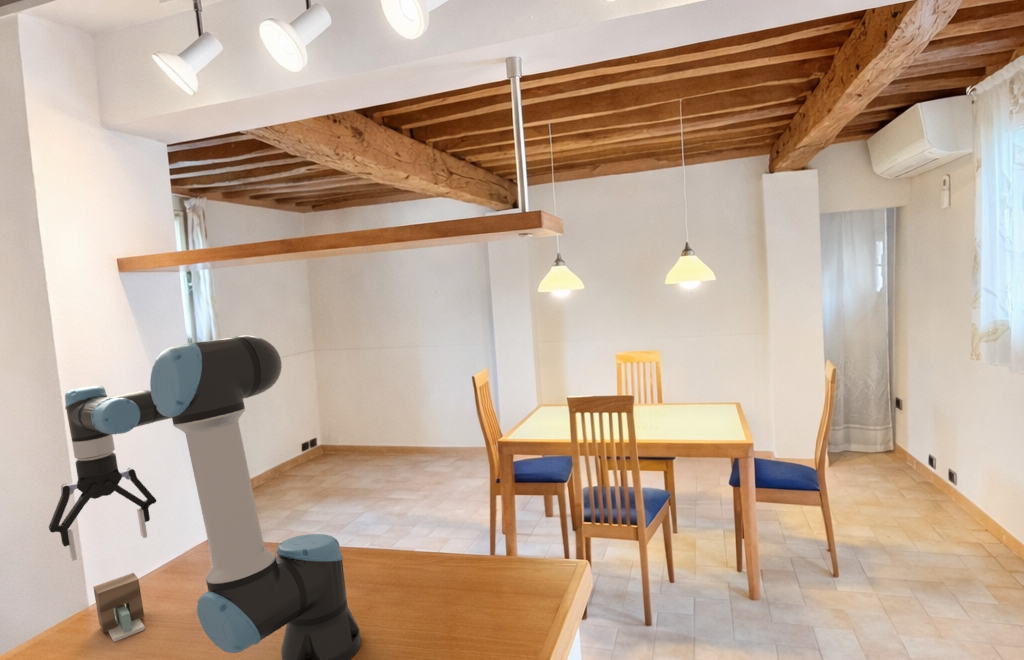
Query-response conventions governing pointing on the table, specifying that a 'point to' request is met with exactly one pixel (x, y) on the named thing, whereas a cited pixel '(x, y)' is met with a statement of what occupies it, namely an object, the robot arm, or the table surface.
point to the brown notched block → (118, 599)
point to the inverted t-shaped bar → (124, 624)
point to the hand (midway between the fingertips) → (110, 547)
